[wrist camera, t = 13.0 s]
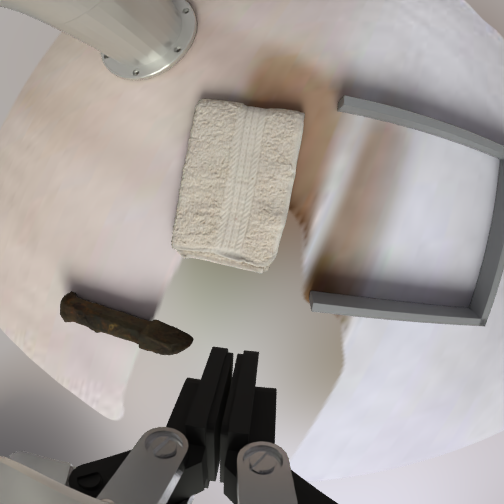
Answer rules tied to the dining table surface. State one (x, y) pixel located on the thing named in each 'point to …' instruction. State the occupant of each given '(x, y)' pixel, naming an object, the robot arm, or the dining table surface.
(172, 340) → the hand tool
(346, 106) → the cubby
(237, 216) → the washcloth
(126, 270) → the dining table surface
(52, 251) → the dining table surface
